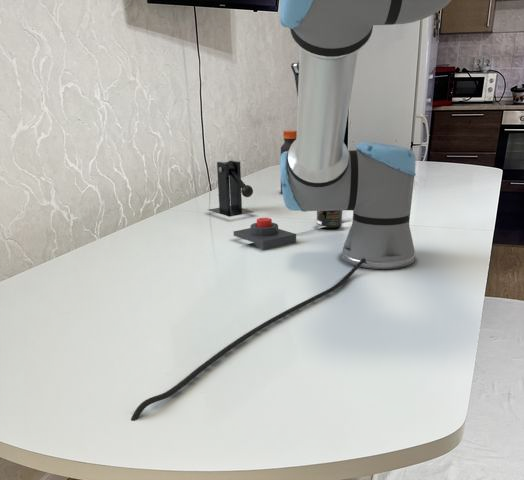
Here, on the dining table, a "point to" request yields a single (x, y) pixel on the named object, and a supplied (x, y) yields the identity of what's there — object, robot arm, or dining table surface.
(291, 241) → the dark grey base plate
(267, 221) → the button
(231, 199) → the lever switch
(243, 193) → the switch lever
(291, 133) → the bottle
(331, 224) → the supplement container
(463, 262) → the dining table surface
